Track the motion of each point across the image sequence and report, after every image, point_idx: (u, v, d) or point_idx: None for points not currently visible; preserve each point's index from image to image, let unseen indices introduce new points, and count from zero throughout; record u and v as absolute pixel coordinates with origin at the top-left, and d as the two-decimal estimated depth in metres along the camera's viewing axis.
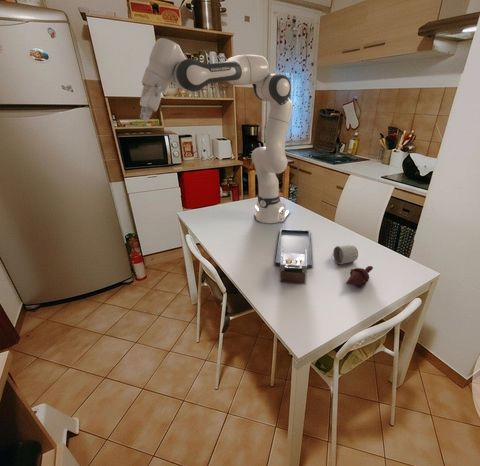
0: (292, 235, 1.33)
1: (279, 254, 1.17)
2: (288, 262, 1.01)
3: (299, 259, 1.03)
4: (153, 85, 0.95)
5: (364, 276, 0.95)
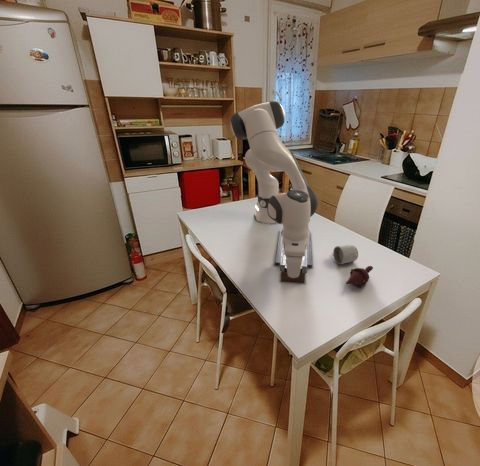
0: None
1: (279, 254, 1.17)
2: None
3: None
4: None
5: (364, 276, 0.95)
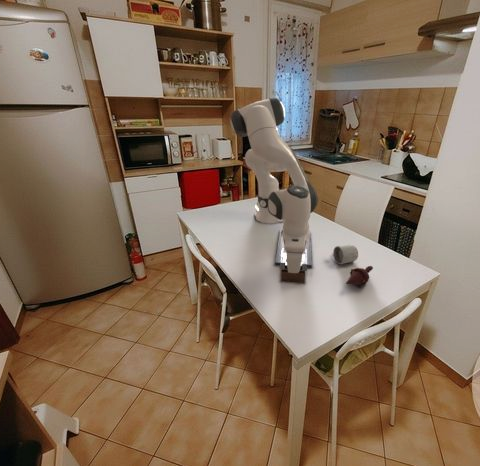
0: None
1: (279, 254, 1.17)
2: None
3: None
4: None
5: (364, 276, 0.95)
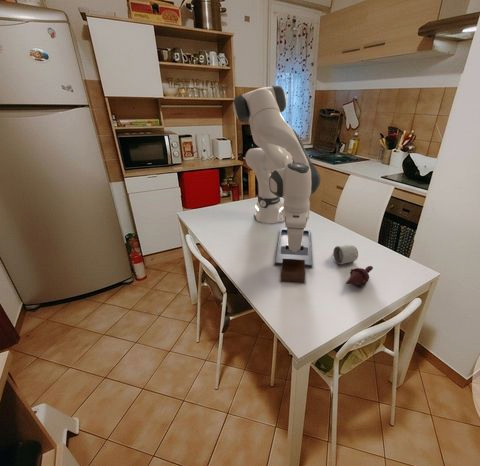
0: None
1: (279, 254, 1.17)
2: None
3: None
4: None
5: (364, 276, 0.95)
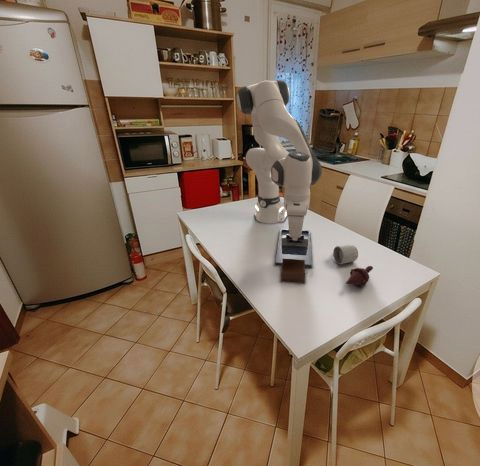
0: None
1: (279, 254, 1.17)
2: None
3: None
4: None
5: (364, 276, 0.95)
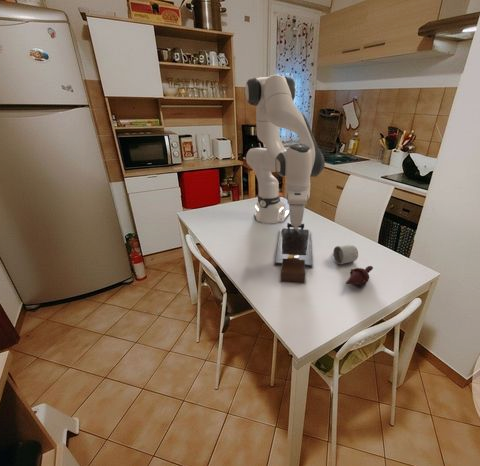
0: None
1: (279, 254, 1.17)
2: None
3: None
4: None
5: (364, 276, 0.95)
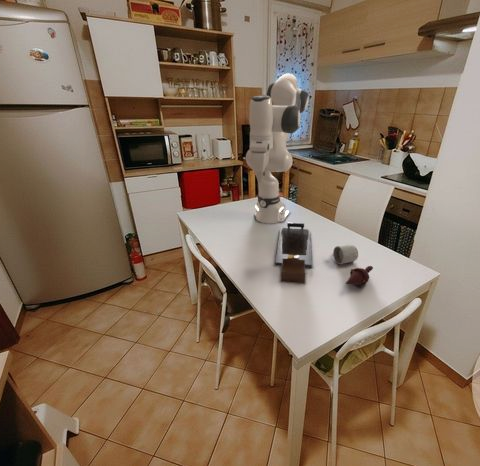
0: None
1: (279, 254, 1.17)
2: None
3: None
4: None
5: (364, 276, 0.95)
